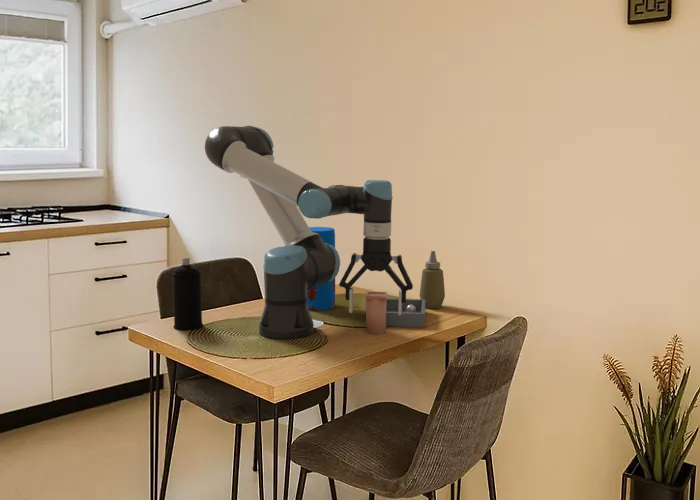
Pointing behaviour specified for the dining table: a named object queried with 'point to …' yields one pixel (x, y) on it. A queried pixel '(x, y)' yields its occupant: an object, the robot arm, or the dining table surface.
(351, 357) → the dining table surface
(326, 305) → the thermos
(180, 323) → the aerosol can
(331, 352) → the dining table surface
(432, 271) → the squeeze bottle
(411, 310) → the ball
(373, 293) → the shaker
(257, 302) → the dining table surface
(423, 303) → the tray
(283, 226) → the robot arm
